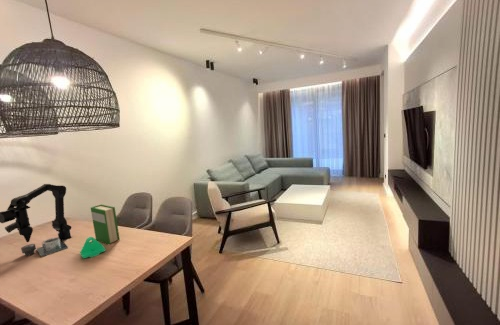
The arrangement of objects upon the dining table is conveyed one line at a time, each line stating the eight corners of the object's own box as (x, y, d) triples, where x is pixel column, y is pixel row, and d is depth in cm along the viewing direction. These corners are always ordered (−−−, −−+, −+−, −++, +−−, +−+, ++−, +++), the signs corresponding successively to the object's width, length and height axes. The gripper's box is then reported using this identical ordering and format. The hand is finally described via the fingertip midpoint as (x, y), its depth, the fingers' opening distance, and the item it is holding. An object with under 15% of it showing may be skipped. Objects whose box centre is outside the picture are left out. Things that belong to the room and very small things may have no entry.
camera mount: (83, 260, 146) (80, 244, 145) (81, 256, 152) (78, 240, 150) (105, 252, 154) (103, 237, 153) (102, 248, 160) (100, 233, 158)
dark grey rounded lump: (35, 250, 164) (34, 242, 163) (37, 253, 159) (35, 245, 158) (22, 255, 159) (20, 247, 158) (23, 258, 154) (21, 249, 153)
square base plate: (62, 241, 175) (60, 233, 174) (67, 247, 164) (66, 239, 163) (36, 249, 165) (35, 241, 164) (40, 257, 154) (39, 248, 153)
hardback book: (119, 240, 170) (114, 207, 167) (108, 244, 164) (103, 210, 161) (106, 235, 180) (101, 204, 177) (96, 239, 174) (90, 207, 171)
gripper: (3, 218, 156) (8, 241, 158) (5, 224, 143) (11, 249, 146) (26, 213, 164) (31, 234, 166) (30, 218, 152) (35, 242, 154)
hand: (27, 240), depth 158 cm, fingers open, 9 cm apart
